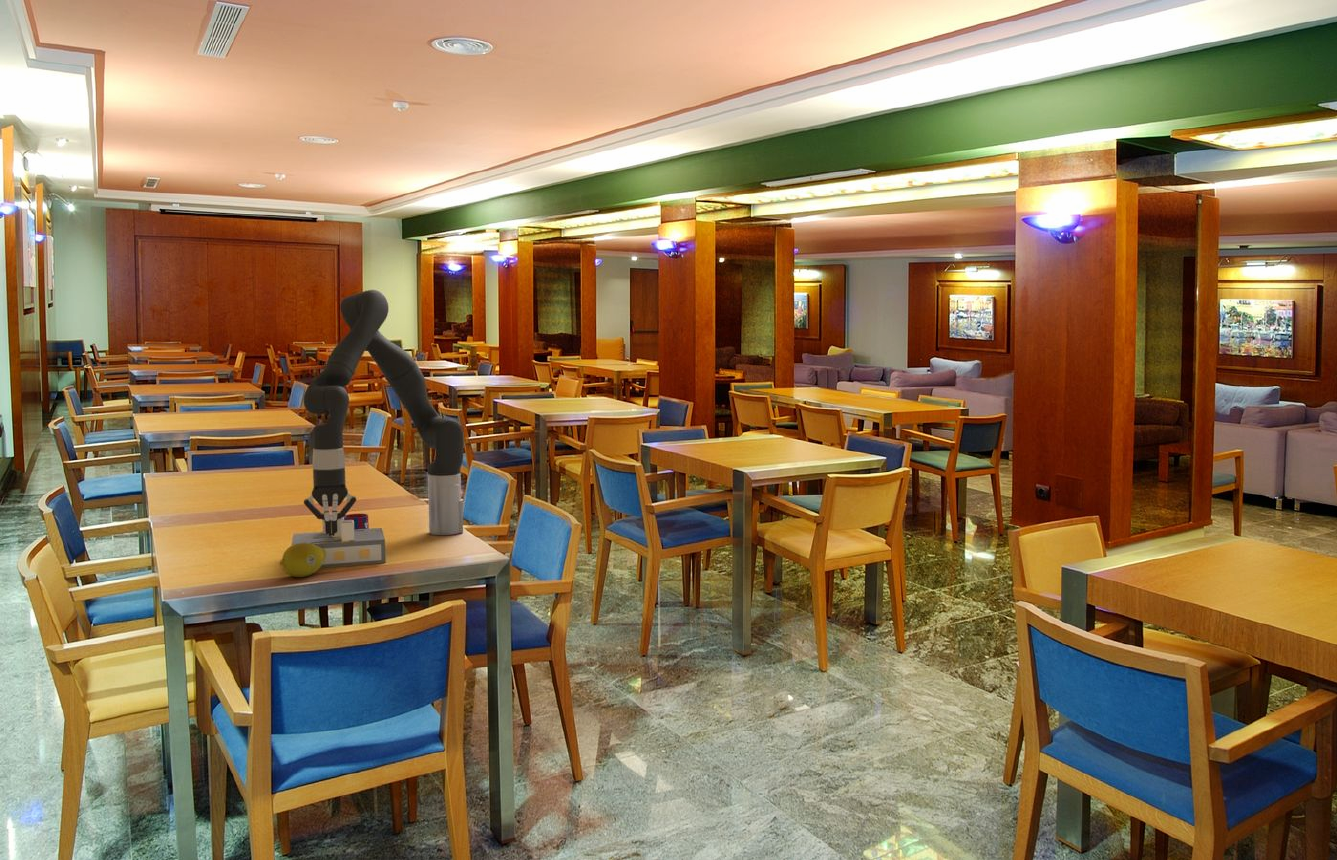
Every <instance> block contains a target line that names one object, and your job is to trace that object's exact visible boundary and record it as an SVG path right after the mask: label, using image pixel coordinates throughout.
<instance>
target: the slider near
mask: <svg viewBox="0 0 1337 860" xmlns="http://www.w3.org/2000/svg"><path fill="white" fill-rule="evenodd" d="M341 532H342V541H351V540H355V538H354V520H342V521H341Z"/></svg>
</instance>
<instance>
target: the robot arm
mask: <svg viewBox="0 0 1337 860" xmlns="http://www.w3.org/2000/svg"><path fill="white" fill-rule="evenodd" d="M339 308H340V313H341V317H342V318H343V320H344V322H345V324H346V325H347V326H348V328H349V329H350V330H349V332H348V333H347V334H346V335H345V336H344V337H343V338H342V339H341V340H340V341H339V342H338V343H337V344H336V346H335V347H334V348H333V350H332V351H331V353H330V355H329V357H328V358H327V361H326V364H325V365H324V368H323V370H322V371H321V372H320V373H319V374H318V375H317V376H315V378H314V379H313V381H312V382H311V383H310V384H309V385H308V387H307V388H306V389H305V391H304V394H303V406H304V408H305V410H306V411H307V412H308V413H310V414H313V415H329V417H328V418H327V419H328V420H327V421H326V422H325V423H320V424H317V425H314V426H313V429H312V448H313V449H312V464H311V465H312V479H313V489H312V490H311V495H310V496H308V497H307V498H304V499H303V504H304V505H305V507H306V508H307V509H308V510H309V511H310V512H311V513H312V514H313V515H314V517H315V518H317V520H324V521H325V532H326V534H329V536H331V529H332V536H334V535H335V533H337V520H338V519H340V518H343V517H344V516H345V515H347V514H348V512H349V511H350V510H351V508H352V507H353V506H354V504H355V503H356V502H357V497H356V495H352V494H351V493H349V491H348V488H347V485H346V484H347V483H346V460H345V459H346V458H345V452H344V451H345V450H344V438H343V436H344V435H343V431H344V426H345V423H346V422H345V421H346V417H347V414H348V409H349V404H350V398H349V393H348V391H347V390H346V389H345V388H346V387H347V386H349V385H350V383H351V381H352V379H353V376H354V375H355V372H356V369H357V368H358V364H359V363H360V360H361V359H362V356H363V354H364V353H365V352H366V350H367V352H368V354H369V355H370V356H371V358H372V359H373V361H374V362H375V364H376V365H377V367H378V369H379V370H380V371H381V373H382V375H383V377H384V378H385V381H387V383H388V384H389V386H390V388H391V389H392V391H393V392H394V393H395V395H396V396H397V398H398V399H399V401H400V402H401V404H402V406H403V407H404V409H405V410H406V411H407V413H408V415H409V417H410V418H411V420H412V423H413V424H414V426H415V428H416V430H417V433H418V435H419V436H420V438H421V440H422V441H423V443H424V444H425V445H426V446H427V447H429V448H430V449H433V450H435V452H434V453H435V458H434V460H433V461H431V462H430V463H428V465H427V492H428V493H427V497H428V499H427V501H428V530H429V534H431V535H433V536H434V535H435V536H452V535H457V534H463V533H464V515H463V514H464V511H463V509H464V508H463V500H462V481H461V480H462V479H461V474H462V473H461V471H462V469H461V468H462V465H463V463H464V445H465V443H464V430H463V427H462V424H461V423H460V422H459V421H458V420H456V419H455V418H446V417H441V416H440V415H439V414H438V412H437V411H436V410H435V408H434V406H433V405H432V404H431V401H430V399H429V396H428V392H427V383H426V379H425V376H424V374H423V371H422V370H421V369H420V367H419V366H418V364H417V362H416V360H415V359H414V358H413V356H411V354H410V353H409V352H407V351H406V350H405V349H403V348H401V347H400V346H399V345H397V344H395V343H394V342H392V341H390V340H389V339H388V338H387V337H385V336H384V335H383V333H382V332H381V331H380V330H379V329H380V328H381V327H382V326H383V324H384V322H385V321H386V319H387V317H388V313H389V302H388V300H387V297H386V296H385V295H384V294H383V293H382V292H381V291H379V290H377V289H369V290H363V291H359V292H358V293H355V294H350V295H348V296H345V297H343V299H341V301H340V306H339ZM344 500H345V505H344V506H343V507H342V509H341V510H340V511H339V512H338V507H339V506H340V505H341V504H342V503H343V501H344ZM315 501H316V502H317V504H319V506H320V507H322V509H323V513H322V512H321V511H320V510H319V509H318V507H316V506H315ZM330 507H331V513H332V520H330V514H329V513H330Z"/></svg>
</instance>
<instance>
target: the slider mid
mask: <svg viewBox="0 0 1337 860" xmlns="http://www.w3.org/2000/svg"><path fill="white" fill-rule="evenodd" d="M342 520H344V517H343V518H340V519H338V520H337V533H335V535H334V536H332V537H342V532H341V521H342Z"/></svg>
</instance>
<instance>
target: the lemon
mask: <svg viewBox="0 0 1337 860" xmlns="http://www.w3.org/2000/svg"><path fill="white" fill-rule="evenodd" d="M325 557H326V551H325V550H324V549H323V548H320V547H318V546H316V545H314V544H310V543H299V544H295V545H293V546H289V547H287V549H285V551H284V553H283V555H282V559H281V560H280V562H279V564H280V566H281V567H283V570H284V572H286V574H287V575H289V576H290V577H294V578H305V577H308V576H310V575H311V576H312V574H314V573H316V572H317V571H318V570H319V569H321V568H320V566H321V565H322V562H323V561H324V560H325Z"/></svg>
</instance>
